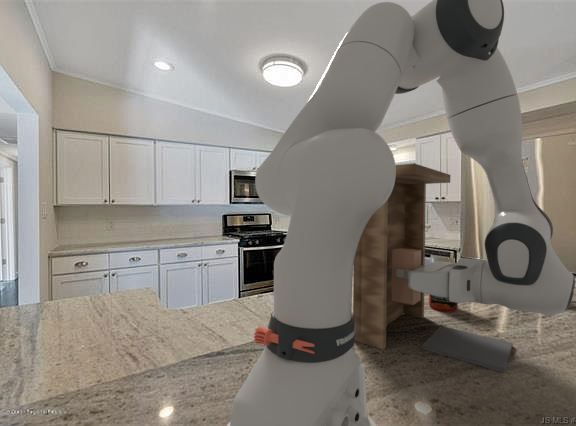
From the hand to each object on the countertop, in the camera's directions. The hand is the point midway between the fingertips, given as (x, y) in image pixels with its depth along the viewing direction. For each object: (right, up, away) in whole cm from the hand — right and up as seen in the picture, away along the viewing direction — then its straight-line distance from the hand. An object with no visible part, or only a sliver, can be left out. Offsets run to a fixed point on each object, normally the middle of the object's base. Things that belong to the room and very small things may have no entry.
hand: (402, 270), depth 74 cm
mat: (+10, -15, -9) cm, 20 cm away
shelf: (+1, -15, 0) cm, 15 cm away
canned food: (+18, -15, +17) cm, 29 cm away
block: (+1, -7, 0) cm, 7 cm away
